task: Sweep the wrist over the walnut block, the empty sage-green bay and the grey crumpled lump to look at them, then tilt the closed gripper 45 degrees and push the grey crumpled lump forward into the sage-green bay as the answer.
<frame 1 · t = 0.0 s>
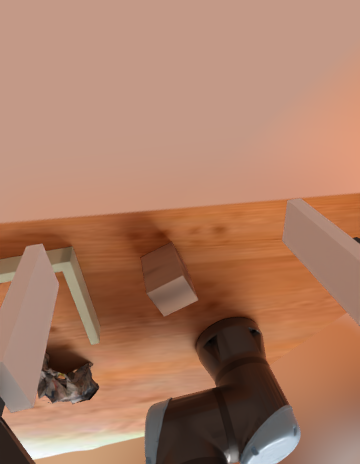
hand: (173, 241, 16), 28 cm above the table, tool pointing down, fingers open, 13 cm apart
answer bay: (22, 303, 50), on the table
walnut block: (163, 261, 52), on the table
grey crumpled lump: (54, 360, 60), on the table
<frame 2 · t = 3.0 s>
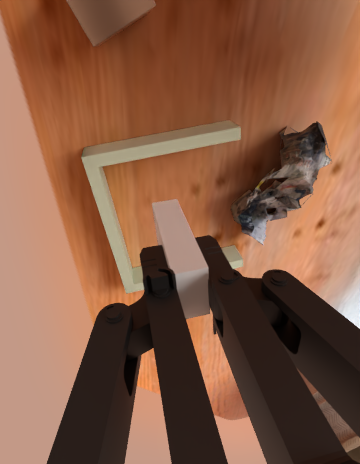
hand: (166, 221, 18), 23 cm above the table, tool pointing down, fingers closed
planter: (305, 360, 74), on the table
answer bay: (171, 207, 44), on the table
grey crumpled lump: (267, 179, 45), on the table
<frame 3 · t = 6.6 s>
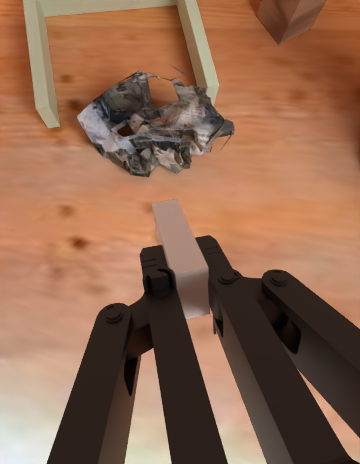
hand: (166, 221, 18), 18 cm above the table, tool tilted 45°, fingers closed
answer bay: (121, 57, 41), on the table
walnut block: (282, 23, 45), on the table
grey crumpled lump: (153, 142, 39), on the table
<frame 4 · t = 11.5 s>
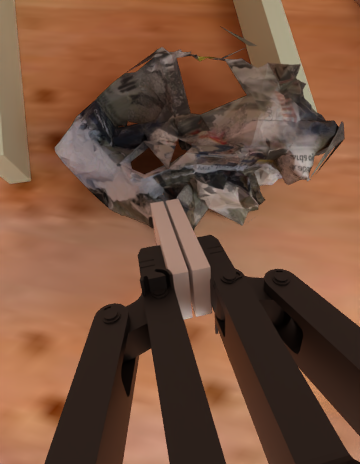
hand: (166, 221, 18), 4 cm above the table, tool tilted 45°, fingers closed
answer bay: (138, 59, 25), on the table
grey crumpled lump: (189, 171, 23), on the table, touching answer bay, gripper
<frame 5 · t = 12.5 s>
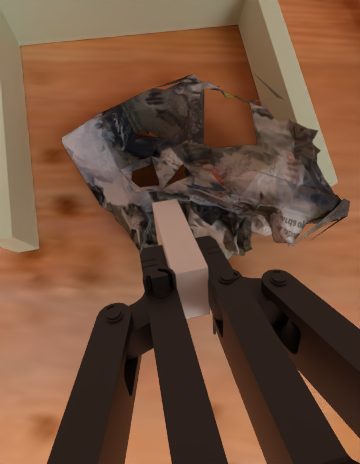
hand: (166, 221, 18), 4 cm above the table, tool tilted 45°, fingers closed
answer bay: (149, 114, 24), on the table
grey crumpled lump: (191, 196, 23), on the table, touching gripper
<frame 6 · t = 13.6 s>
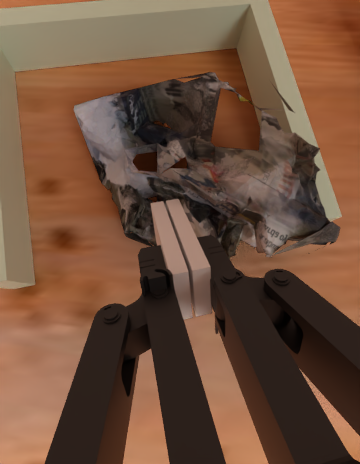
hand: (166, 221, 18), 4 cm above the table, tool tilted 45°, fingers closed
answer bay: (147, 142, 23), on the table
grey crumpled lump: (190, 193, 23), on the table, touching gripper
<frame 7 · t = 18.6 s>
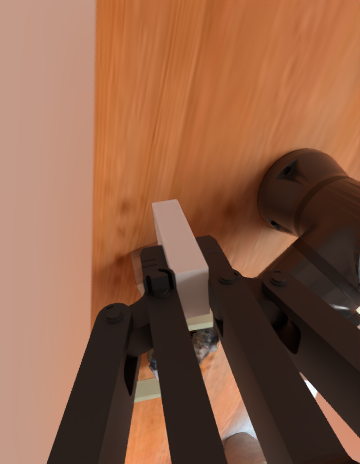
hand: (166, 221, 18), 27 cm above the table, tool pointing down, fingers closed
planter: (237, 438, 97), on the table
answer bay: (163, 349, 65), on the table
walnut block: (151, 258, 52), on the table
grey crumpled lump: (178, 336, 65), on the table
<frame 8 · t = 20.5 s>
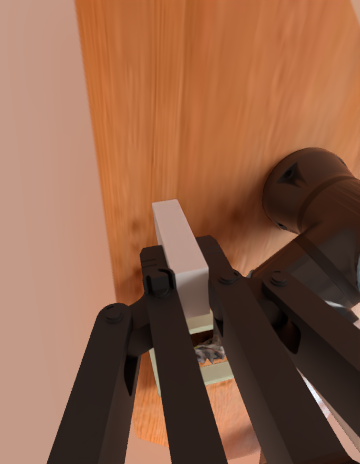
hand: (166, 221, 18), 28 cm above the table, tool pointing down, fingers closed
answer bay: (190, 346, 70), on the table
grey crumpled lump: (201, 333, 69), on the table
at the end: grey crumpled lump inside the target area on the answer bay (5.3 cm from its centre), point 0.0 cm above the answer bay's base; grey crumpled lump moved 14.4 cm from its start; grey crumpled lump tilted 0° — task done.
